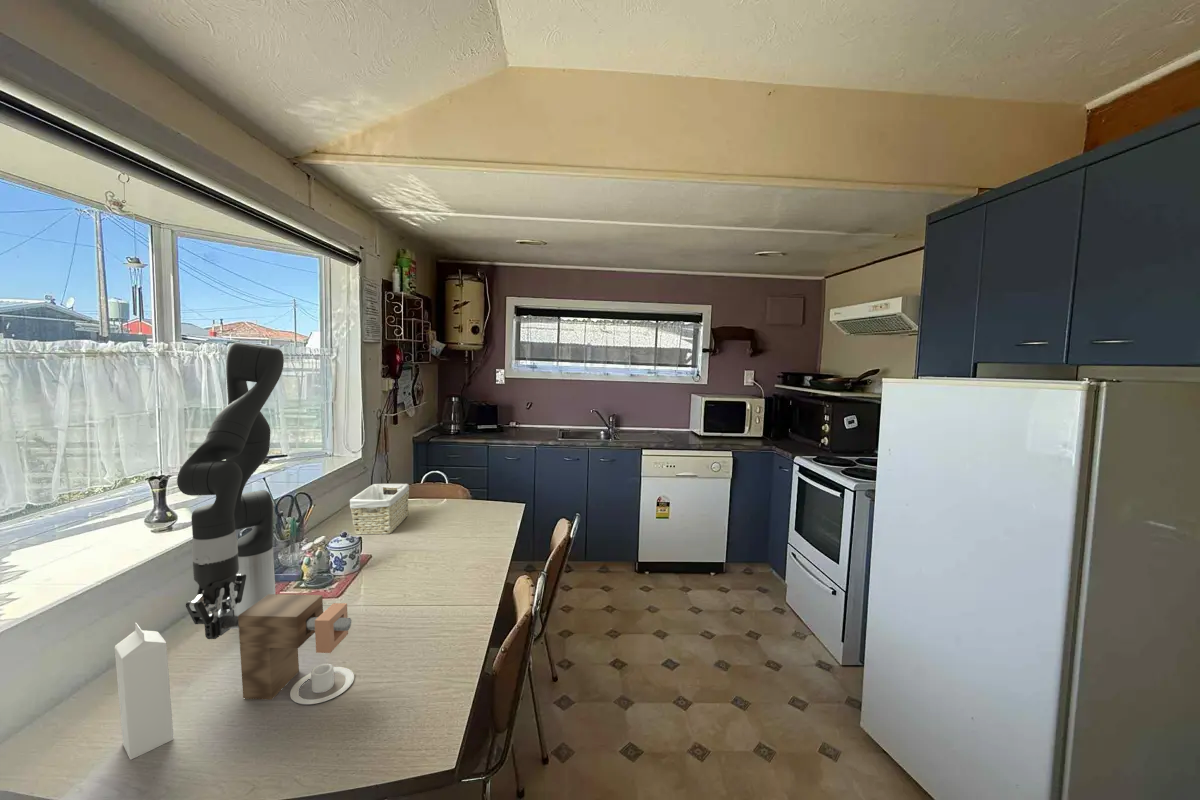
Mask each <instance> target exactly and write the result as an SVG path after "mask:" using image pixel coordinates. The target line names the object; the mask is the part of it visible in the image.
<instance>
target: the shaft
mask: <svg viewBox="0 0 1200 800" xmlns="http://www.w3.org/2000/svg"><path fill="white" fill-rule="evenodd" d="M209 616H212V612H211V613H209ZM317 618H318V617H309V618H308V619H307V620H306V630H315V620H316V619H317ZM217 621H218V623H219V637H220V636H224V634H226V633H227V632H229V630H231V629H232V630H233V629H235V630H237V629H238V630H239V622H238V616H235V615H234V616H233V609H220V610H219V612H218V620H217ZM351 626H352V619H351V617H348V618H339V619H338V620H337V621H336V622H335V623H334V631H348V632H349V630H350V628H351Z"/></svg>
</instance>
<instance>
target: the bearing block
mask: <svg viewBox="0 0 1200 800" xmlns="http://www.w3.org/2000/svg"><path fill="white" fill-rule="evenodd" d="M323 603H324V602H323V595H322V594H281V593H279V594H276V593H275V594H268V595H267V596H265V597H264V598H262V599H261V600H260V601H258V602H257V603H255V604H254V605H253V606H251V607H250V608H248V609H247V610H246V611H244V612H243V613H241V614H240V615H239V616H238V622H239V629H238V635H239V636H238V638H239V652H240V653H239V654H240V666H241V667H240V668H241V670H240V671H241V684H242V685H241V686H242V699H243V698H245V699H244V700H265V699H266V701H268V700H271V701H273V699H275V697H276V696H277V695H279V693H280V692H281V691H282V690H283V689H284V688H285V687H286V686H287V685H288V684H289V683H290V682H291V681H292V680H291V679H294V678H295V676H297V675H298V674H299V673H300V663H299V662H300V657H299V648H300V647H301V646H302V645H303V644H304V643H306V642H307V641H308V640H309V639H310V638H311V636H313V635H315V630H306V620H307V619H308V618H309V617H319V616H320V615H321V614H322V613H323V612H324V604H323ZM290 680H291V681H290ZM289 681H290V682H289ZM288 682H289V683H288ZM287 683H288V684H287ZM286 684H287V685H286ZM285 685H286V686H285ZM282 688H283V689H282ZM281 689H282V690H281Z"/></svg>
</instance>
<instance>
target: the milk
mask: <svg viewBox="0 0 1200 800" xmlns="http://www.w3.org/2000/svg"><path fill="white" fill-rule="evenodd" d="M134 626H135V630H134V631H133V632H131V633H130V634H129V635H127V636H126V637H125V638H123V639H122V640H121V641H119V642H118V643H117V644H115V646H114V655H115V669H116V680H117V681H116V683H117V693H118V703H119V705H118V706H119V716H120V727H121V728H120V729H121V741H122V745H123V748H124V750H125V752H126V754H127V756H128V757H129V760H130V761H131V760H133V759H136V758H137V757H140V756H142V755H144V754H147V753H149V752H150V751H153V750H155V749H157V748H158V747H161V746H163V745H165V744H167V743H169V742H171V741H173V740H174V725H173V724H174V723H173V713H172V712H173V711H172V699H171V684H170V673H169V672H170V671H169V670H170V669H169V659H168V658H169V656H168V644H167V641H166V640H165V639H164V637H163V636H162V635H161V633H160V632H159V631H157V630H156V631H155V630H146V629H145V630H143V629H141V627H140V626H139V624H138V623H137V622H135V623H134Z"/></svg>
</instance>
